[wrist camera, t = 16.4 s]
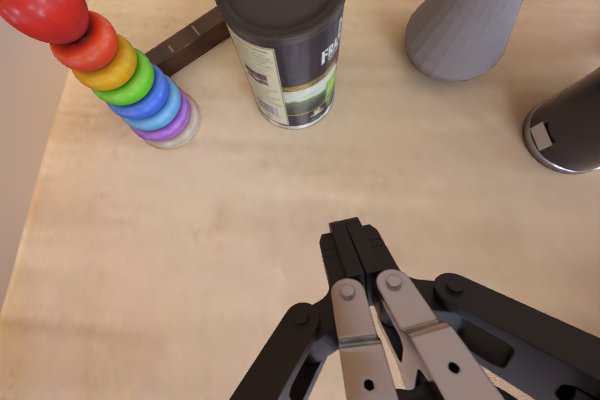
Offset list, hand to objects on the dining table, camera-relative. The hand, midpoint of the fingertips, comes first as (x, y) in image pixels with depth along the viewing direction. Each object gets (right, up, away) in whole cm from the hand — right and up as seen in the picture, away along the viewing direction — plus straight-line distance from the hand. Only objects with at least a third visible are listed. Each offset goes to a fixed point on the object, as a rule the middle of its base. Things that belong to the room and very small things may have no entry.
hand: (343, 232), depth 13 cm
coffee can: (-3, +16, +20) cm, 25 cm away
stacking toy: (-19, +12, +20) cm, 30 cm away
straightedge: (-16, +23, +22) cm, 36 cm away
